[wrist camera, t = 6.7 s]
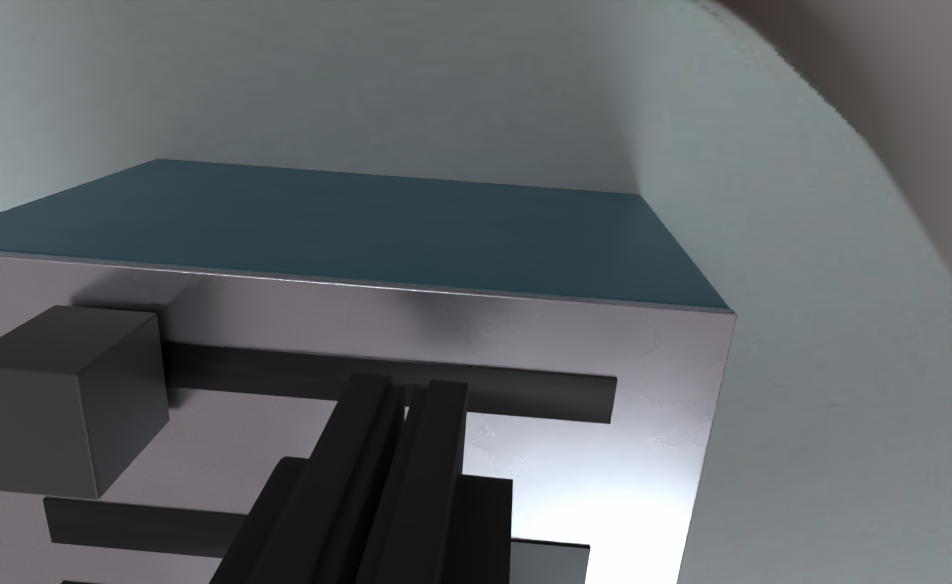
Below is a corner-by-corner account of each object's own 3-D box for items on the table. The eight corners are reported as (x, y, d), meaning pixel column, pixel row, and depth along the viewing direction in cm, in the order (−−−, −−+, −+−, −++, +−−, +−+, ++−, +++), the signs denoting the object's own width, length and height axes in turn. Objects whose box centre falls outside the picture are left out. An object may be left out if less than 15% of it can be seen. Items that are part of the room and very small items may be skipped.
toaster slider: (55, 303, 13) (-49, 364, 10) (158, 312, 13) (76, 374, 10) (74, 412, 14) (-18, 490, 11) (171, 421, 13) (99, 501, 11)
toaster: (155, 158, 22) (-112, 248, 13) (641, 194, 22) (738, 316, 12) (184, 418, 26) (-7, 639, 16) (600, 454, 25) (651, 703, 16)
